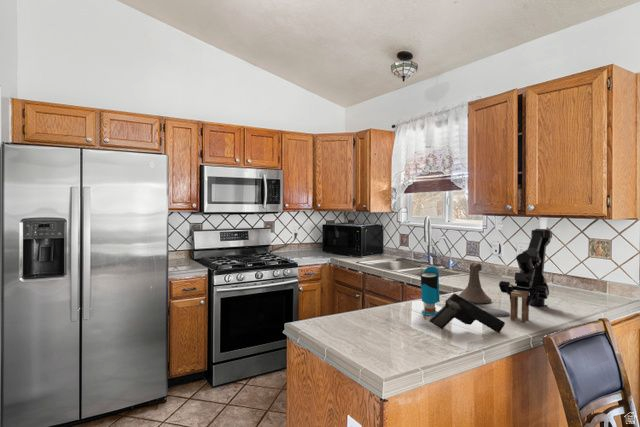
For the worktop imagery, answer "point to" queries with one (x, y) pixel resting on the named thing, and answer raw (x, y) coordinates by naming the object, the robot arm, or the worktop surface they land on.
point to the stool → (514, 305)
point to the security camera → (430, 289)
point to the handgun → (465, 314)
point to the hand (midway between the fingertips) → (518, 305)
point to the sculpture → (474, 287)
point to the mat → (497, 312)
